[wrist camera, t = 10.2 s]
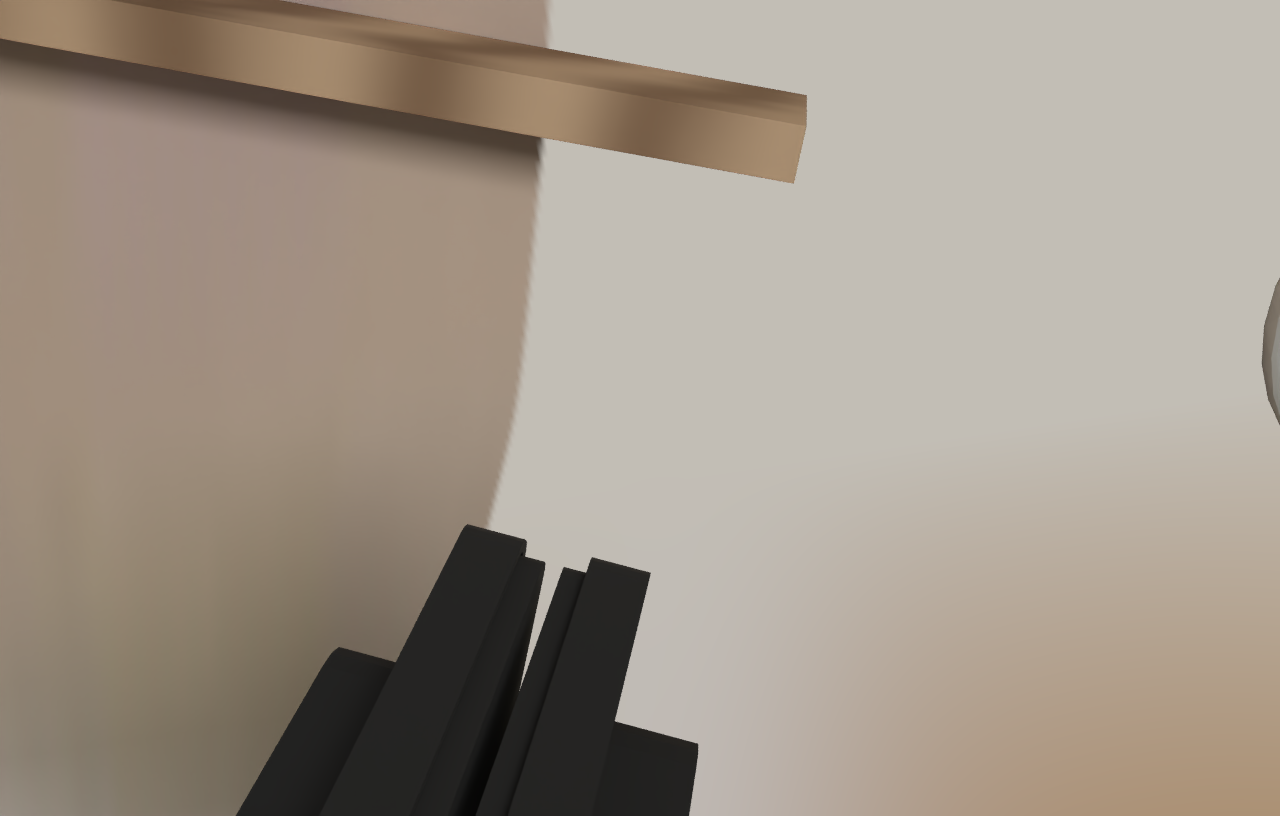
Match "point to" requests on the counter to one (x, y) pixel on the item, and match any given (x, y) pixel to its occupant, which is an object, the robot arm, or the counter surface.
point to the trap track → (435, 76)
